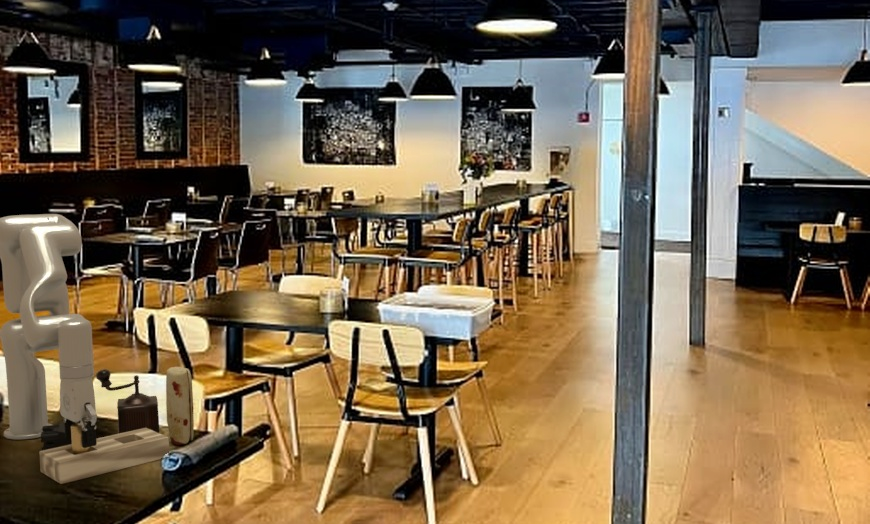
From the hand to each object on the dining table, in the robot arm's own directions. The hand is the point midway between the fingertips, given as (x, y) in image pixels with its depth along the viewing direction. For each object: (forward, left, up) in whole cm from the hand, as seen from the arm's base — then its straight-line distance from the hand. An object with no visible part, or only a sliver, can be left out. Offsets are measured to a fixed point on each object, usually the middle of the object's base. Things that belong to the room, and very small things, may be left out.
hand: (80, 442), depth 218 cm
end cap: (-18, +2, -7) cm, 19 cm away
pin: (0, 0, -7) cm, 7 cm away
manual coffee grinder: (-18, +21, -7) cm, 28 cm away
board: (0, +6, -7) cm, 9 cm away
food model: (-3, +28, -7) cm, 29 cm away
